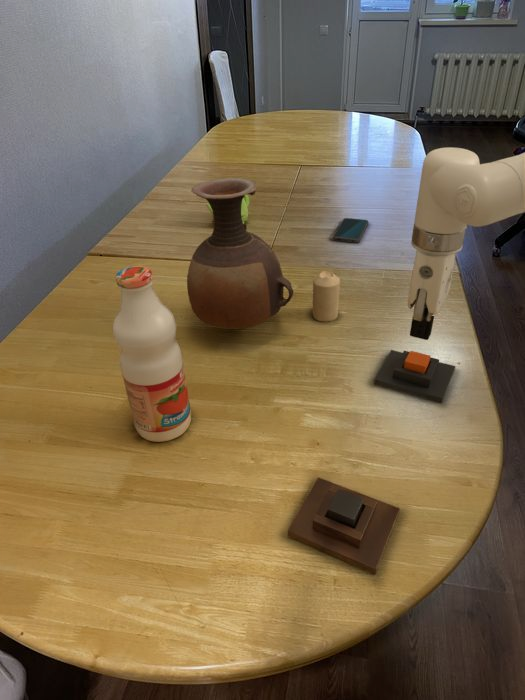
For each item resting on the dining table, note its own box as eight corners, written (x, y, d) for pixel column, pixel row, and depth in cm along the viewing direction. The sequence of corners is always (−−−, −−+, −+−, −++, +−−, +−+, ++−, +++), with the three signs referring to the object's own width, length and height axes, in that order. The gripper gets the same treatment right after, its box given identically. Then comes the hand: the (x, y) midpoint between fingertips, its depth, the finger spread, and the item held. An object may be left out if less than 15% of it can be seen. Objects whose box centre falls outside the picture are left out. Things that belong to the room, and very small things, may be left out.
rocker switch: (363, 507, 68) (363, 498, 67) (353, 528, 66) (354, 519, 65) (337, 497, 70) (338, 488, 69) (327, 517, 67) (327, 509, 66)
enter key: (429, 363, 93) (430, 355, 92) (423, 374, 90) (425, 366, 89) (409, 358, 94) (410, 350, 93) (403, 369, 92) (404, 361, 91)
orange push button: (454, 371, 95) (457, 358, 93) (441, 403, 88) (444, 390, 86) (390, 354, 100) (392, 341, 98) (373, 384, 93) (375, 371, 91)
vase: (308, 327, 109) (310, 185, 91) (240, 369, 98) (228, 216, 80) (235, 292, 122) (225, 162, 105) (169, 325, 112) (145, 186, 94)
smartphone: (331, 240, 144) (331, 237, 143) (343, 220, 155) (344, 217, 155) (358, 243, 142) (359, 240, 141) (369, 222, 153) (369, 219, 153)
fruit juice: (149, 401, 91) (117, 256, 75) (199, 408, 89) (178, 260, 73) (126, 439, 84) (85, 287, 68) (180, 447, 82) (152, 292, 66)
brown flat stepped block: (399, 513, 70) (401, 499, 69) (375, 574, 63) (377, 560, 62) (317, 482, 75) (318, 468, 73) (287, 536, 68) (287, 521, 66)
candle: (339, 321, 110) (341, 279, 104) (313, 322, 110) (314, 280, 104) (336, 308, 115) (338, 267, 109) (311, 309, 115) (312, 268, 109)
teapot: (215, 215, 163) (212, 184, 157) (251, 215, 162) (249, 184, 156) (208, 230, 154) (204, 197, 148) (246, 230, 152) (244, 198, 147)
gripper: (452, 261, 71) (431, 365, 82) (473, 222, 82) (451, 319, 93) (399, 251, 74) (385, 353, 85) (425, 214, 85) (410, 310, 96)
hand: (420, 335), depth 89 cm, fingers closed
